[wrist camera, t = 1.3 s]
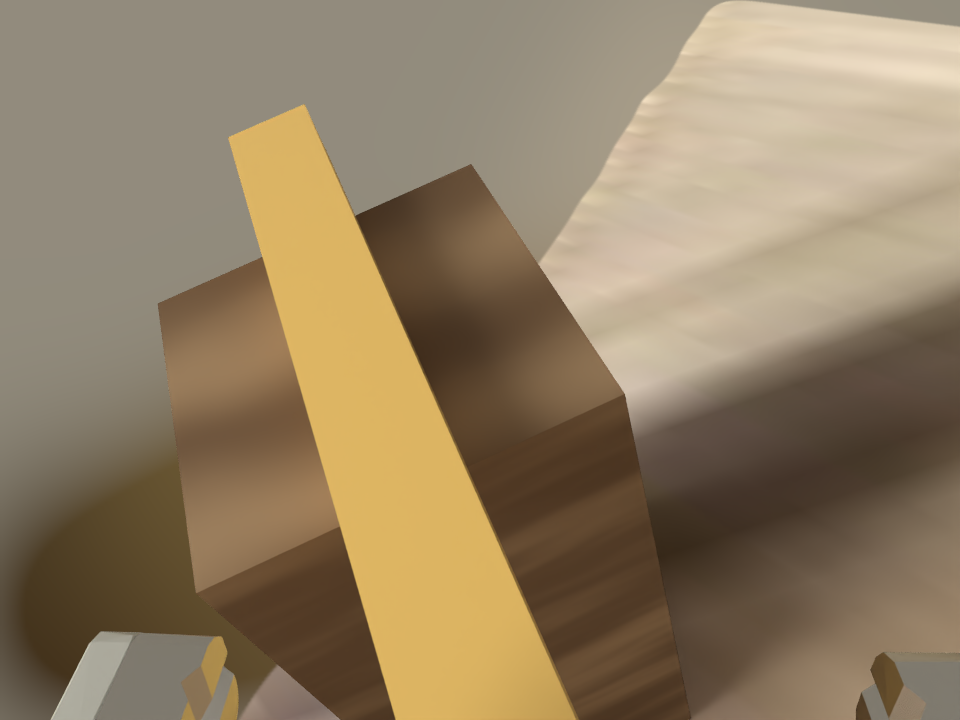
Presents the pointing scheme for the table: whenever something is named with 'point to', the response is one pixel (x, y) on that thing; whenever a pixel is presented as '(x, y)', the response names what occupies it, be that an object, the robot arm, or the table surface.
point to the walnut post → (479, 436)
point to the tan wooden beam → (390, 454)
